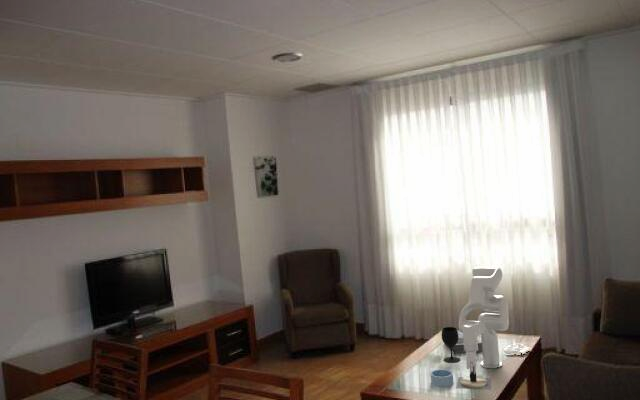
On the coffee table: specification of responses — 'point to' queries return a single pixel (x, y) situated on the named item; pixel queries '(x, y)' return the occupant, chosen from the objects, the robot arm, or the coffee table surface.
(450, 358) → the wine glass
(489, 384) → the mat
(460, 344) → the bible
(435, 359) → the coffee table surface
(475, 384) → the lid
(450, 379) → the bowl
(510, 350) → the white brass knuckles
